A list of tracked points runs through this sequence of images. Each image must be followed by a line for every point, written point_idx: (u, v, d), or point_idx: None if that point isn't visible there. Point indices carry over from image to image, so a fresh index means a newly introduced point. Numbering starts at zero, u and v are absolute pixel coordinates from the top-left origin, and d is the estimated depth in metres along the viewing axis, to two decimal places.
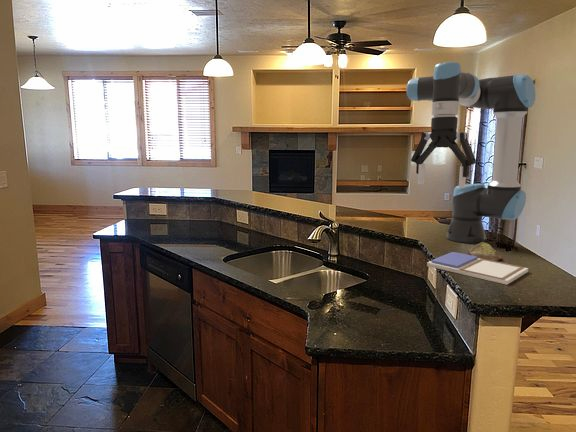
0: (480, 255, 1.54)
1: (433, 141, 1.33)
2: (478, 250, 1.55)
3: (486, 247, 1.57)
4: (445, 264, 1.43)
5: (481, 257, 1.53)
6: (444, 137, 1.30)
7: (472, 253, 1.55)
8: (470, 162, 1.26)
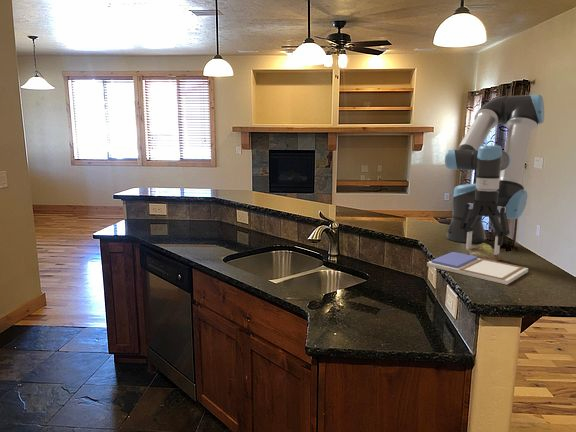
0: (480, 256, 1.54)
1: (477, 211, 1.54)
2: (478, 251, 1.56)
3: (487, 248, 1.57)
4: (445, 264, 1.43)
5: (480, 258, 1.53)
6: (487, 208, 1.51)
7: (471, 254, 1.55)
8: (504, 234, 1.49)
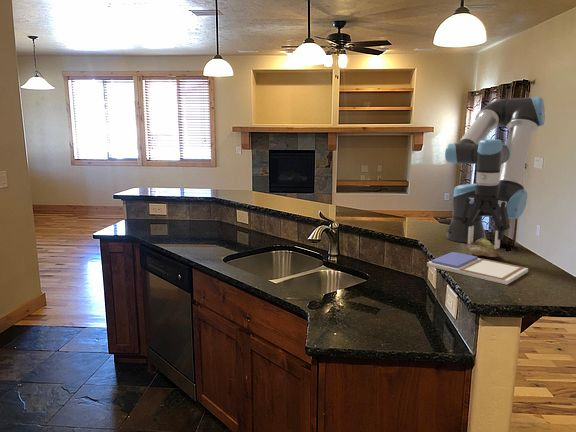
0: (479, 251, 1.53)
1: (478, 205, 1.54)
2: (477, 246, 1.55)
3: (486, 243, 1.57)
4: (445, 264, 1.43)
5: (480, 253, 1.53)
6: (487, 202, 1.51)
7: (471, 249, 1.55)
8: (504, 228, 1.49)
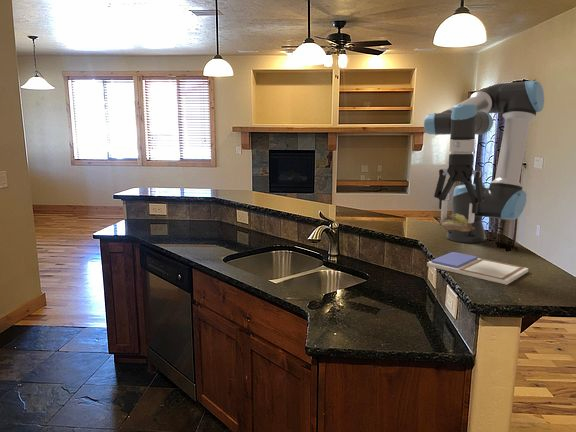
0: (452, 225, 1.42)
1: (451, 176, 1.43)
2: (450, 220, 1.44)
3: (460, 218, 1.46)
4: (445, 264, 1.43)
5: (453, 228, 1.42)
6: (461, 173, 1.40)
7: (443, 224, 1.43)
8: (479, 200, 1.38)
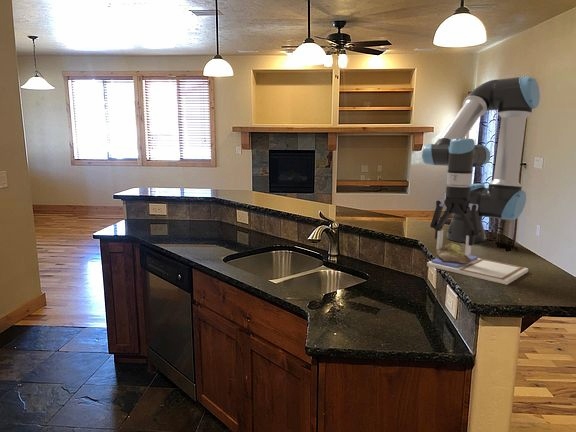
0: (449, 257, 1.44)
1: (448, 208, 1.45)
2: (446, 252, 1.46)
3: (455, 248, 1.48)
4: (445, 264, 1.43)
5: (450, 259, 1.44)
6: (458, 205, 1.42)
7: (440, 255, 1.45)
8: (476, 233, 1.39)
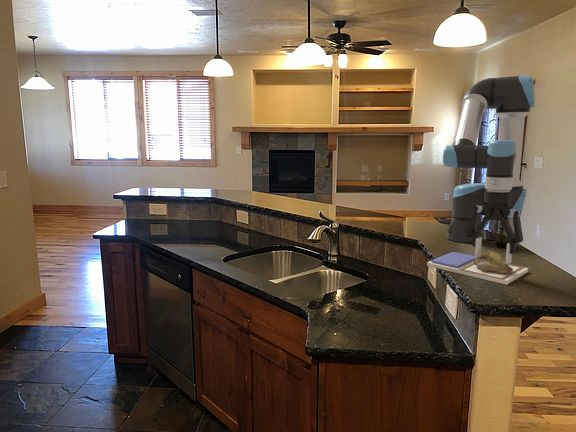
0: (489, 266, 1.35)
1: (487, 214, 1.36)
2: (486, 261, 1.37)
3: (495, 257, 1.39)
4: (445, 264, 1.43)
5: (490, 269, 1.35)
6: (498, 211, 1.33)
7: (479, 264, 1.37)
8: (517, 241, 1.31)
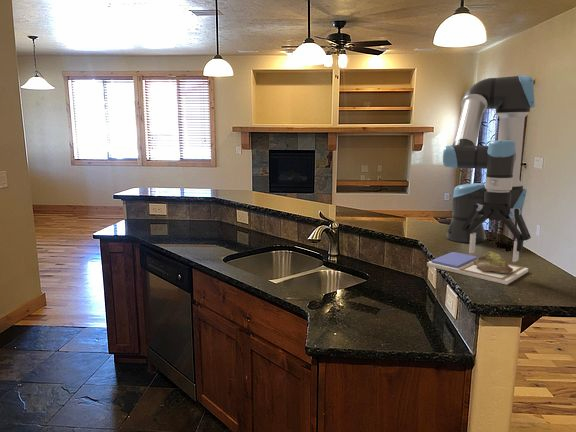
0: (489, 266, 1.35)
1: (486, 214, 1.36)
2: (486, 261, 1.37)
3: (495, 257, 1.39)
4: (445, 264, 1.43)
5: (490, 269, 1.35)
6: (498, 211, 1.33)
7: (479, 264, 1.37)
8: (525, 238, 1.29)
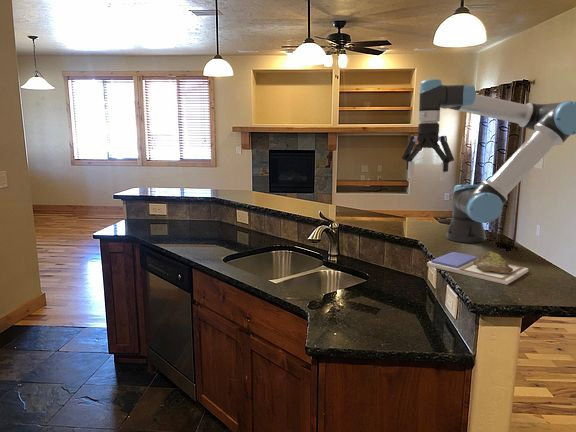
0: (489, 266, 1.35)
1: (420, 143, 1.64)
2: (486, 261, 1.37)
3: (495, 257, 1.39)
4: (445, 264, 1.43)
5: (490, 269, 1.35)
6: (428, 139, 1.61)
7: (479, 264, 1.37)
8: (449, 159, 1.57)
